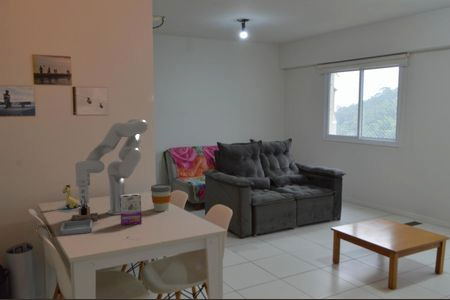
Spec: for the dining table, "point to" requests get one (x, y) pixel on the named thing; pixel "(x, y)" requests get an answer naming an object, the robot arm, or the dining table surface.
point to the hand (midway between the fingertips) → (84, 212)
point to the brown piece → (92, 217)
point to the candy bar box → (130, 209)
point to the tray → (76, 227)
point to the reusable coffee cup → (161, 196)
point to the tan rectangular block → (87, 212)
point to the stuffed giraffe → (69, 201)
